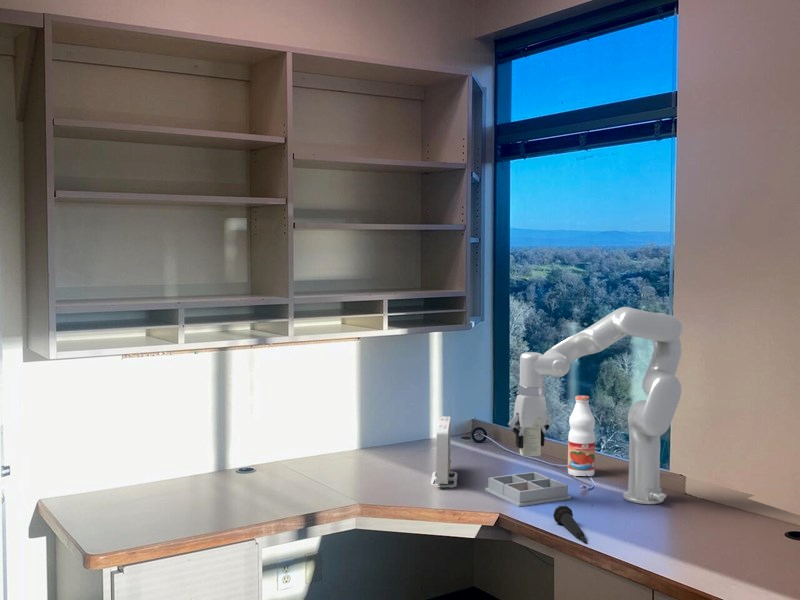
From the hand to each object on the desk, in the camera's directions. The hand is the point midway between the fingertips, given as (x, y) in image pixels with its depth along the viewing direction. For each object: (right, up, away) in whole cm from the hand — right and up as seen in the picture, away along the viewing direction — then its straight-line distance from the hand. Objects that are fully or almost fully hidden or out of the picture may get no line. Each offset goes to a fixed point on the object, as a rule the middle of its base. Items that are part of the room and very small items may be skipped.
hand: (530, 446), depth 266 cm
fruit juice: (+23, -16, +31) cm, 42 cm away
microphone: (+6, -19, -31) cm, 37 cm away
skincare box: (0, -3, 0) cm, 3 cm away
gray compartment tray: (0, -17, +6) cm, 18 cm away
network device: (-26, -16, +23) cm, 38 cm away
